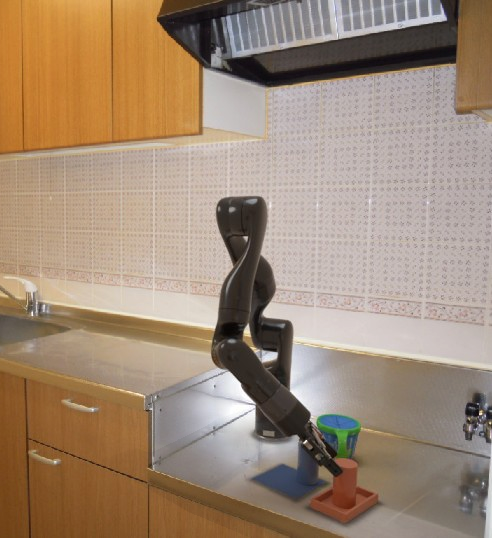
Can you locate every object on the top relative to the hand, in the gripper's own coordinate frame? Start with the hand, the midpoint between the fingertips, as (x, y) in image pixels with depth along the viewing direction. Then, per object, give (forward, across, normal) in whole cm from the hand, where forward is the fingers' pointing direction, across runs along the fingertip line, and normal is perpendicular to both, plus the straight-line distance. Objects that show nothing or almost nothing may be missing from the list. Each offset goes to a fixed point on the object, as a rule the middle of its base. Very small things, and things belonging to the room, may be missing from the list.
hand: (336, 465), depth 122 cm
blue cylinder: (+3, +9, +10) cm, 13 cm away
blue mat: (0, +8, +13) cm, 15 cm away
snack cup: (+9, +23, +4) cm, 25 cm away
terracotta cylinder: (+7, 0, +5) cm, 8 cm away
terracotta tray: (+8, 0, +5) cm, 9 cm away
